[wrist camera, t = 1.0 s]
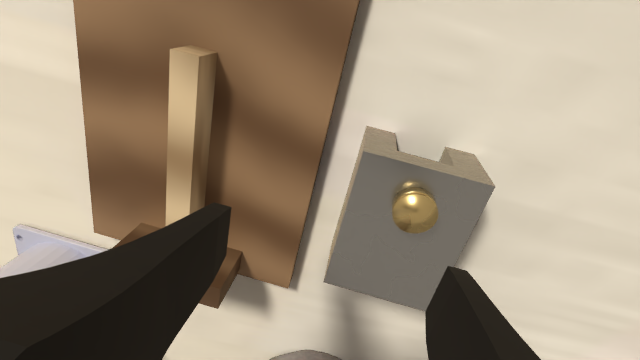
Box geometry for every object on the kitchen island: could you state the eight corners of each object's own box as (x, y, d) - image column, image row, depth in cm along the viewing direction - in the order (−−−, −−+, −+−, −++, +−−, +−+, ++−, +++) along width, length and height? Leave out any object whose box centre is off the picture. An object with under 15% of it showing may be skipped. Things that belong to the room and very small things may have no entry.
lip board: (291, 278, 25) (274, 330, 21) (104, 224, 25) (52, 264, 21) (386, -110, 15) (388, -155, 11) (74, -184, 15) (-34, -253, 11)
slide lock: (422, 265, 23) (431, 324, 18) (332, 240, 23) (321, 292, 19) (474, 153, 19) (500, 194, 15) (366, 125, 19) (362, 157, 15)
